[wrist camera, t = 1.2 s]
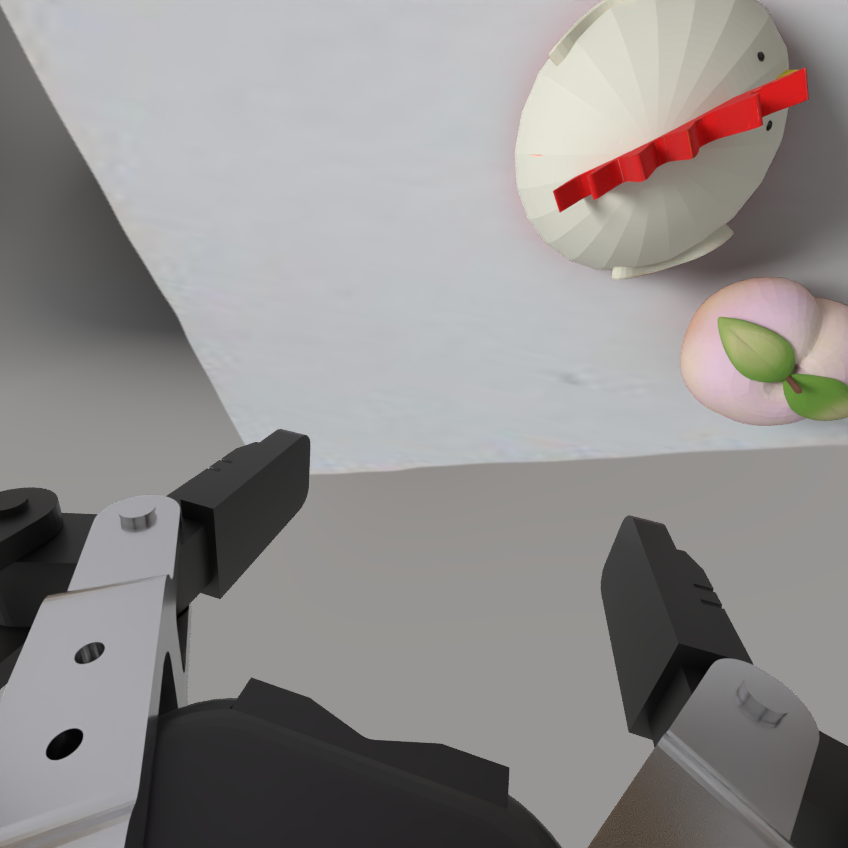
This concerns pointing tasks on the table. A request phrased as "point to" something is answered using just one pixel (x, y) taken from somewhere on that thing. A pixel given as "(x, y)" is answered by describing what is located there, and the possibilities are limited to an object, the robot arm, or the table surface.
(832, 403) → the decorative fruit
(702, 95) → the kitchen timer
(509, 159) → the table surface
